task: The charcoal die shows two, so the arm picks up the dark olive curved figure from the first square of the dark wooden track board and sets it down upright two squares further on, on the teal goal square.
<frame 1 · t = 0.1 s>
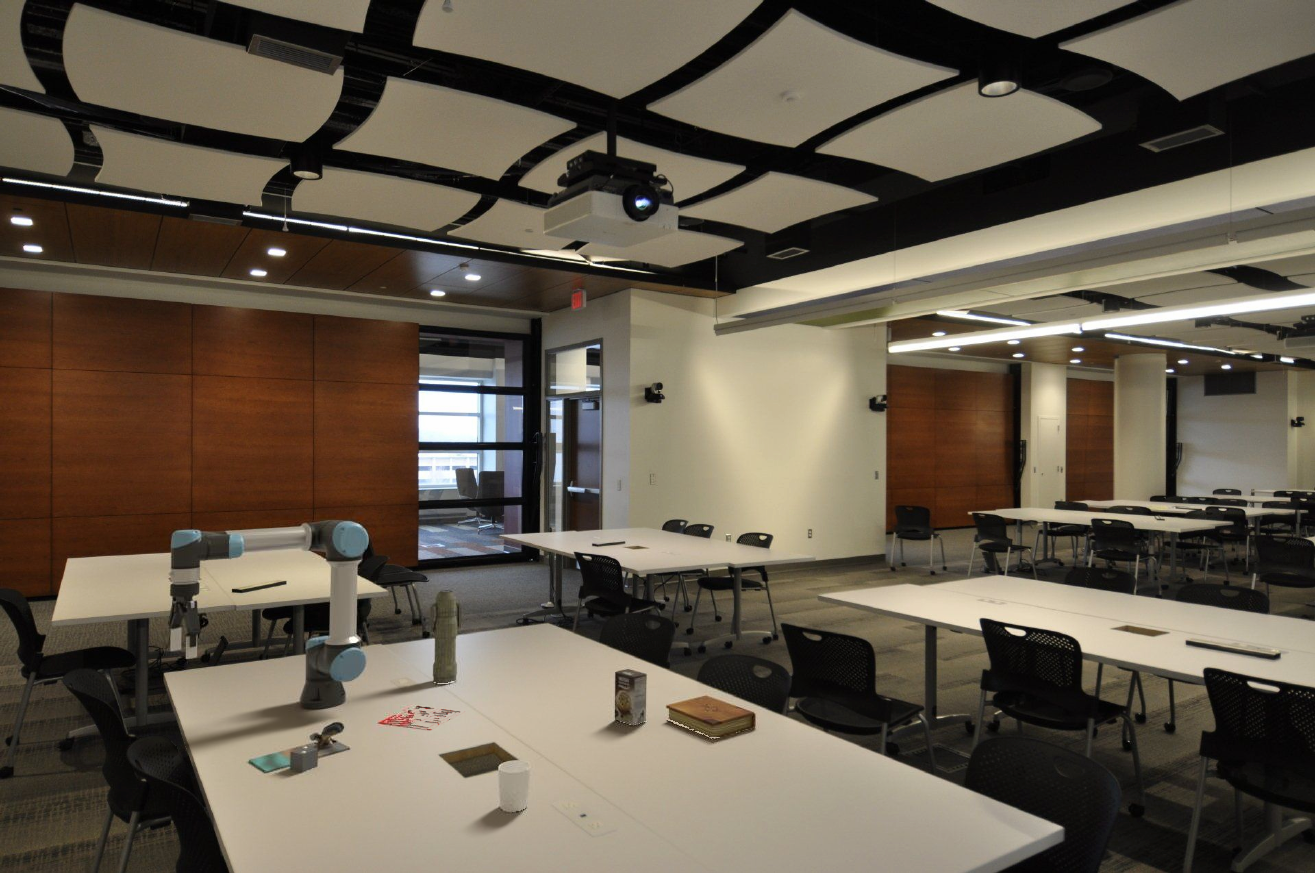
hand: (183, 654, 235), 28 cm above the table, tool pointing down, fingers open, 13 cm apart
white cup: (513, 807, 196), on the table
diary: (710, 726, 259), on the table
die: (303, 768, 220), on the table
dark olive curved figure: (327, 746, 236), resting on track board
coffee box: (630, 722, 261), on the table
thermos: (444, 682, 306), on the table
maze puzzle: (422, 719, 264), on the table
track board: (300, 755, 230), on the table
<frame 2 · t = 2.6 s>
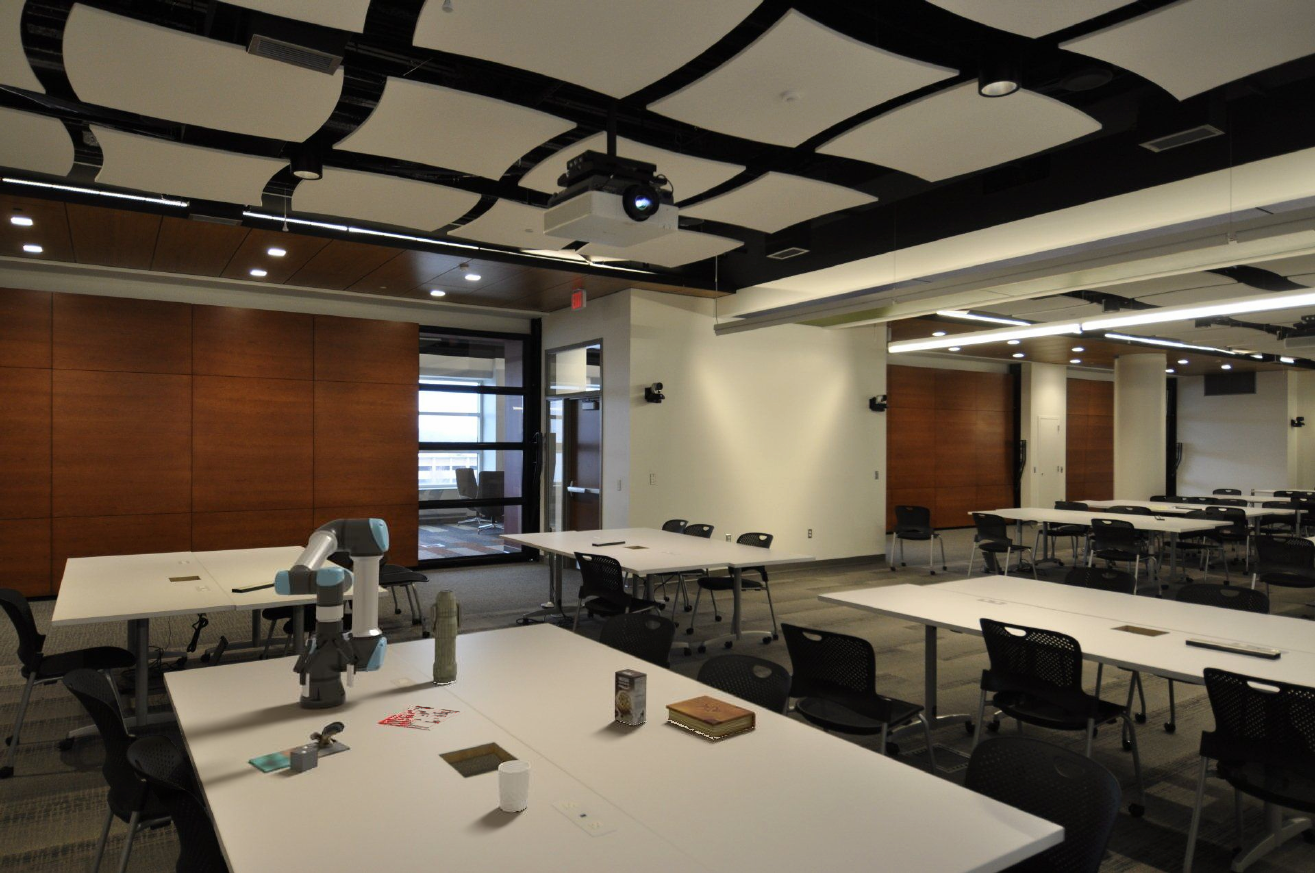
hand: (328, 691, 236), 17 cm above the table, tool pointing down, fingers open, 13 cm apart
nothing on the table moved.
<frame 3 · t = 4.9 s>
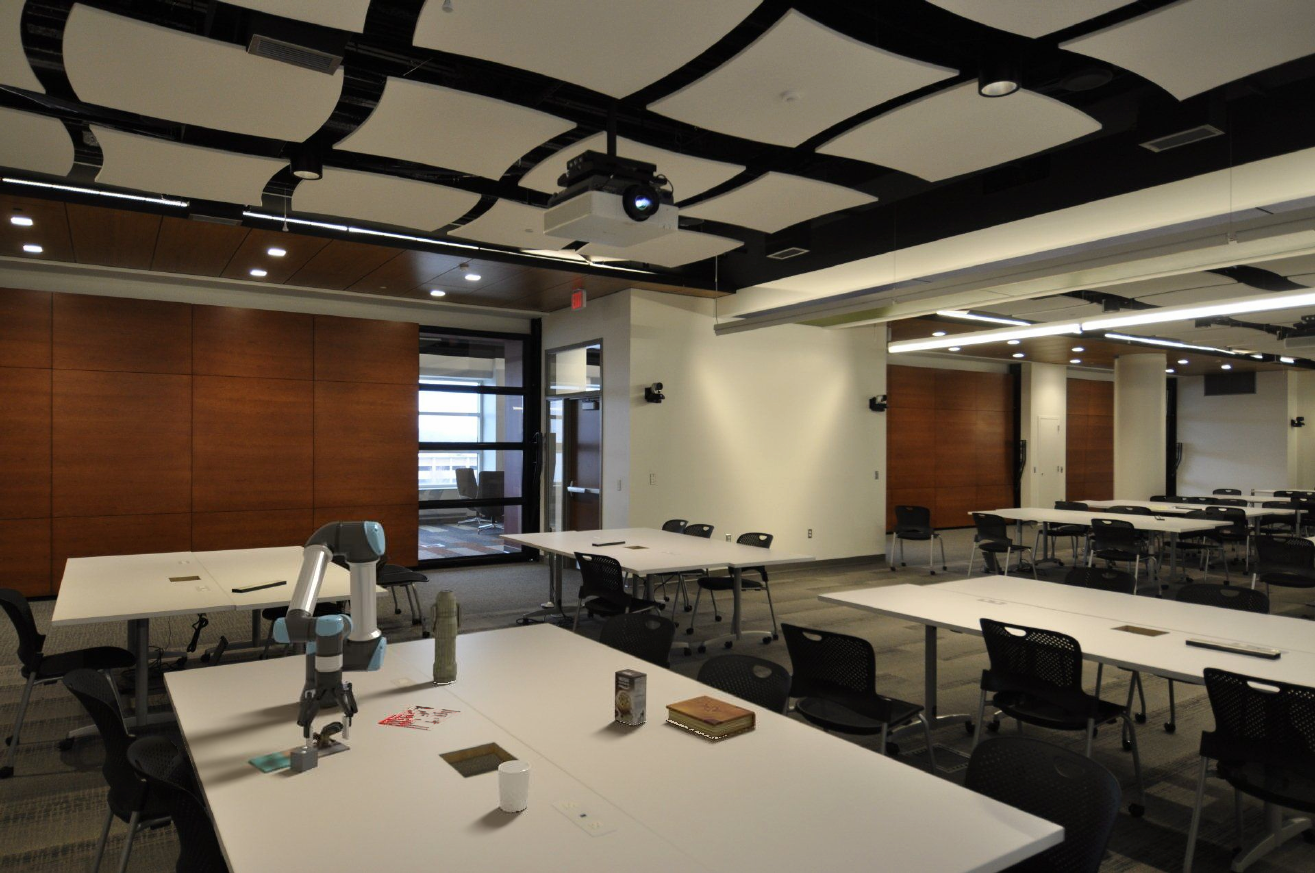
hand: (327, 743, 236), 1 cm above the table, tool pointing down, fingers closed on dark olive curved figure, 10 cm apart
dark olive curved figure: (326, 746, 236), resting on track board, touching gripper
everything else where it was.
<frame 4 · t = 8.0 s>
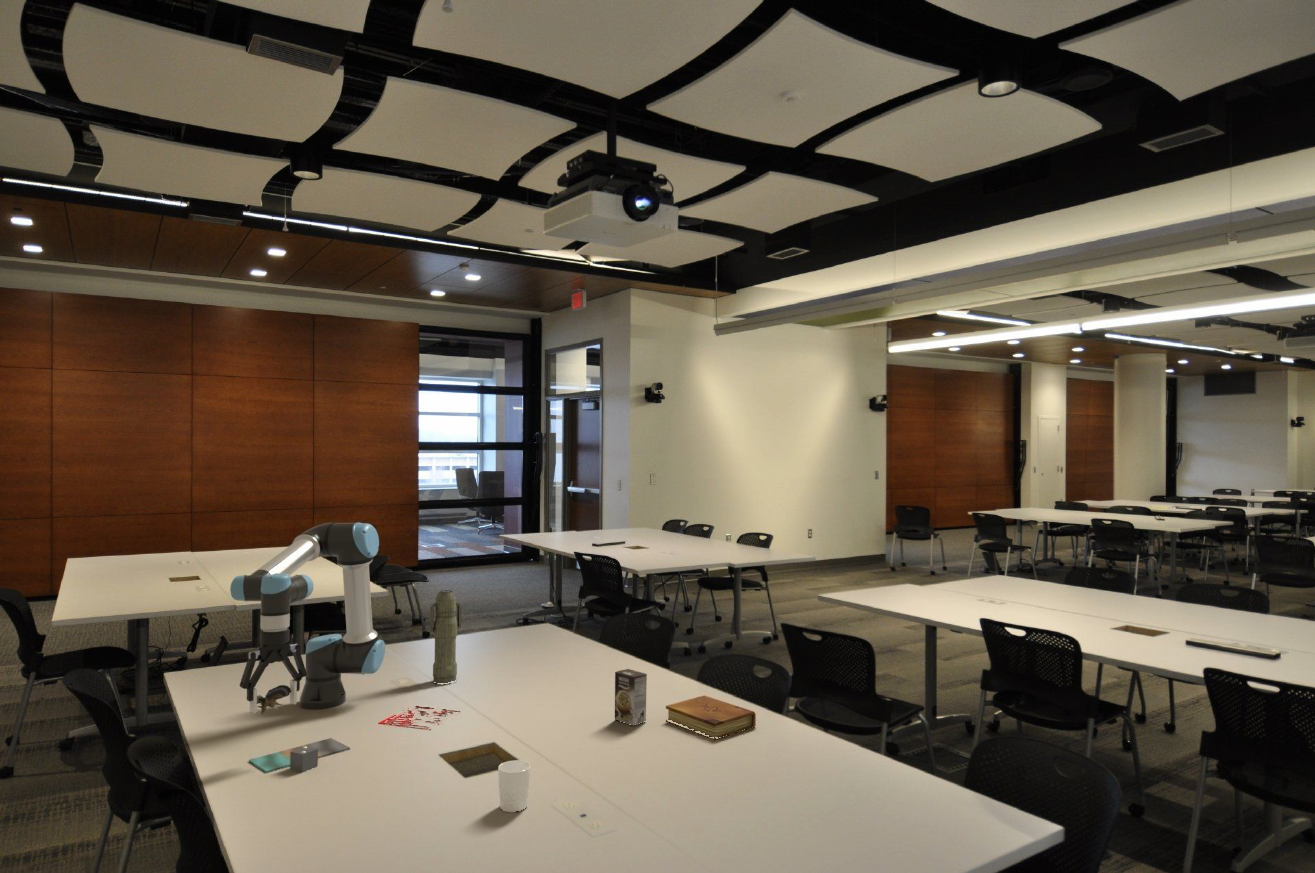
hand: (273, 707, 224), 16 cm above the table, tool pointing down, fingers closed on dark olive curved figure, 10 cm apart
dark olive curved figure: (272, 710, 224), point 15 cm above the table, touching gripper
everything else where it was.
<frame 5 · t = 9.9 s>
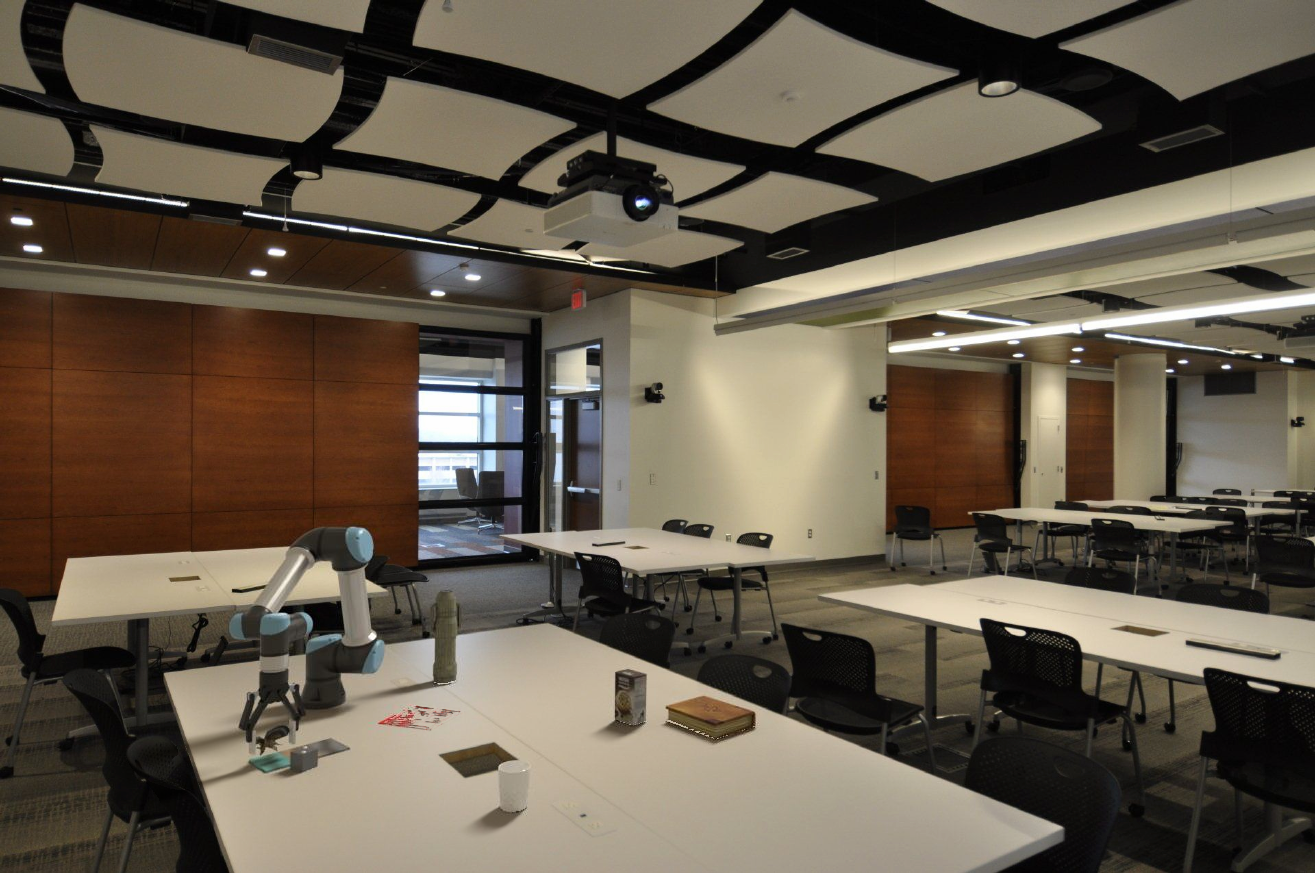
hand: (272, 748, 224), 4 cm above the table, tool pointing down, fingers closed on dark olive curved figure, 10 cm apart
dark olive curved figure: (270, 751, 224), point 3 cm above the table, touching gripper
everything else where it was.
when the fingers open (3 cm above the table, at t = 11.2 s): dark olive curved figure drops 1 cm, resting on track board.
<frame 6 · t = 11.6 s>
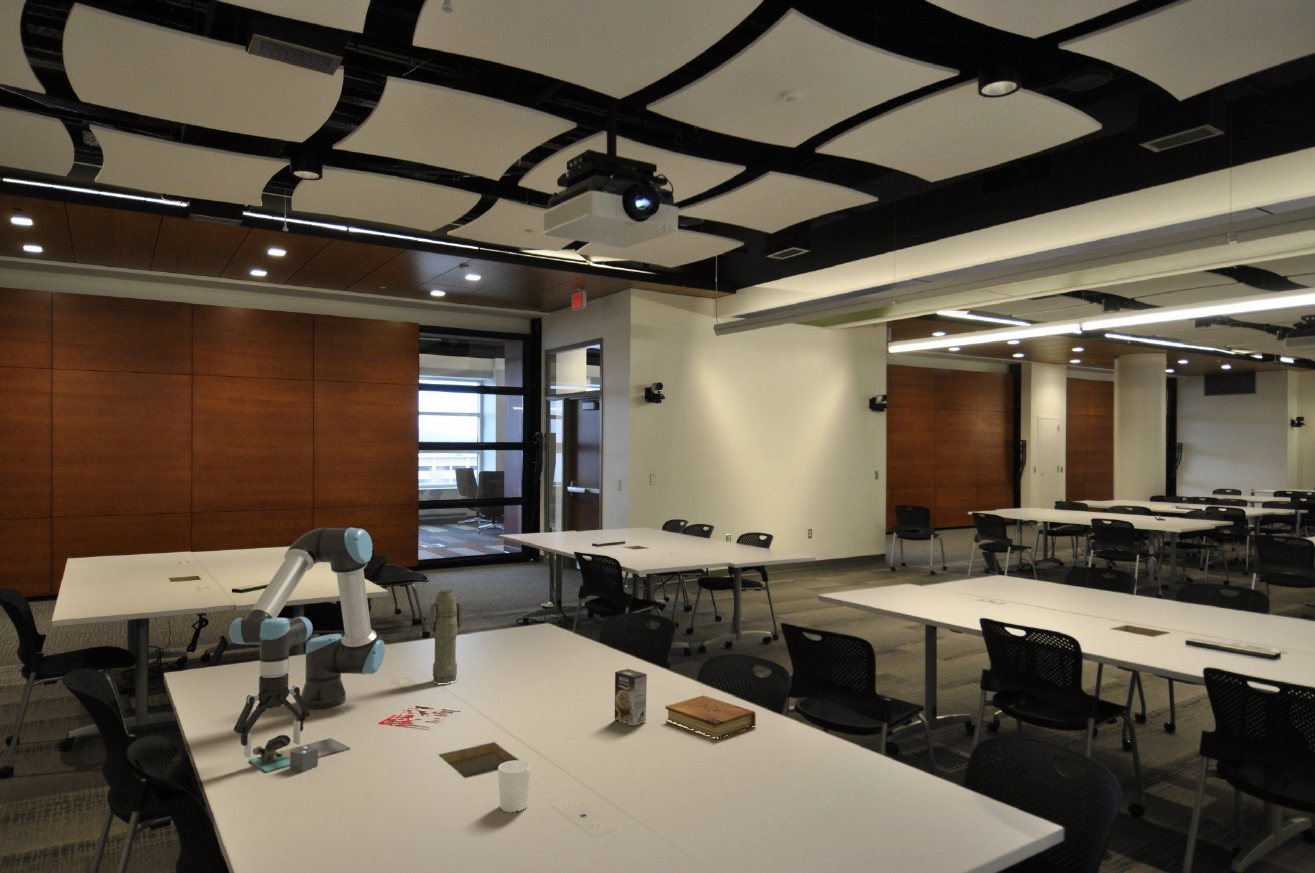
hand: (272, 749, 224), 4 cm above the table, tool pointing down, fingers open, 13 cm apart
dark olive curved figure: (271, 761, 224), resting on track board
everything else where it was.
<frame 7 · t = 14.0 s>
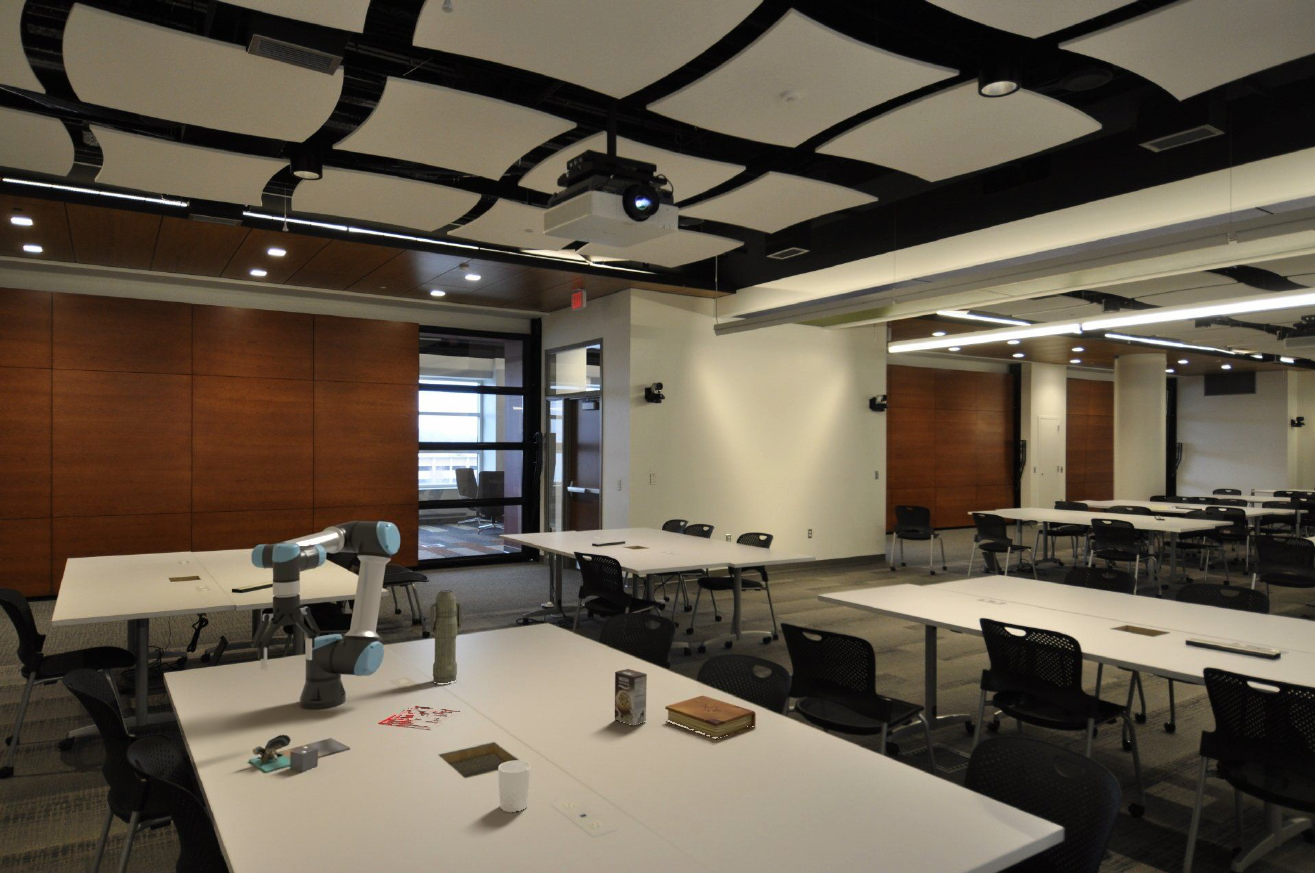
hand: (286, 664, 241), 24 cm above the table, tool pointing down, fingers open, 13 cm apart
nothing on the table moved.
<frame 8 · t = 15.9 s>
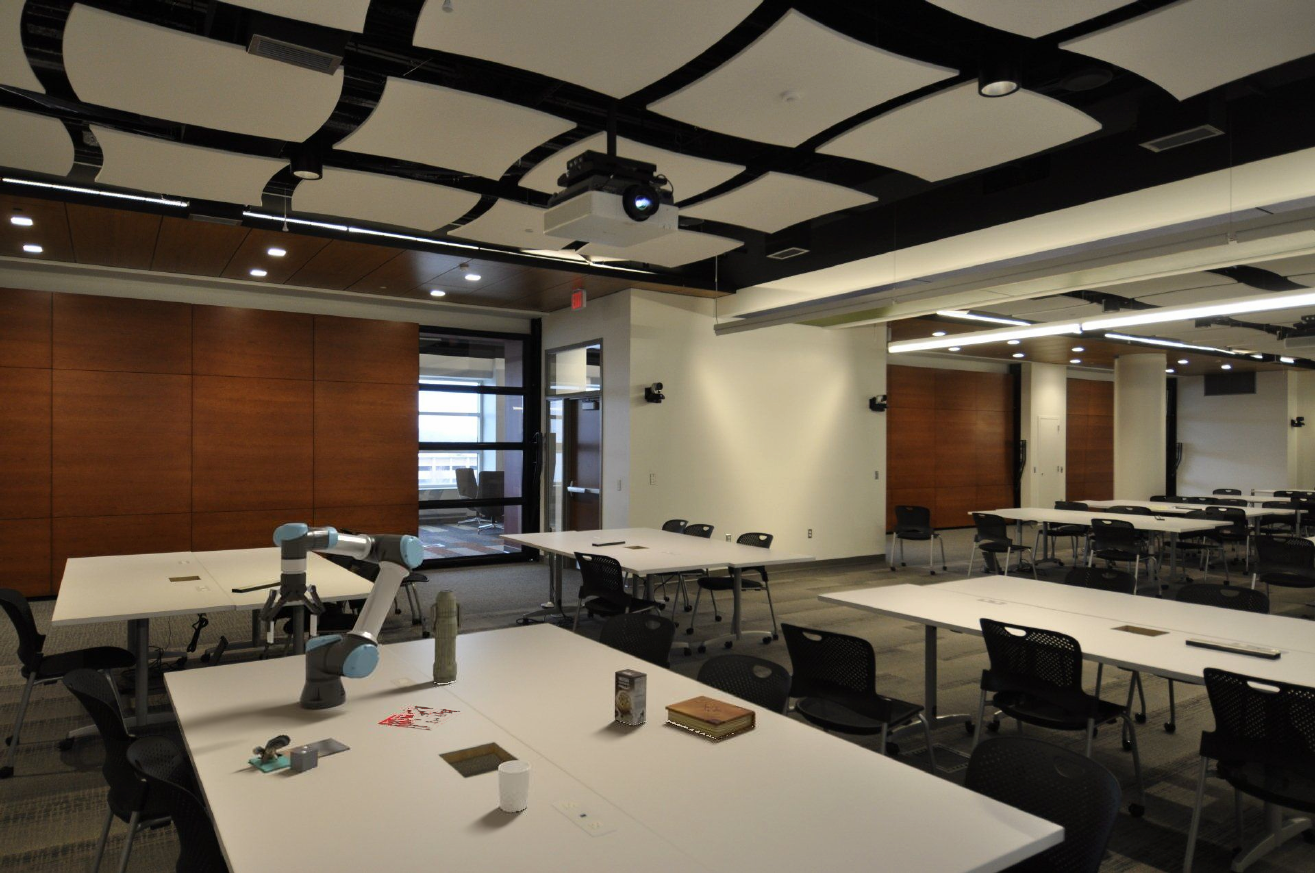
hand: (292, 638, 252), 29 cm above the table, tool pointing down, fingers open, 13 cm apart
nothing on the table moved.
at the end: dark olive curved figure 0.7 cm from the target spot on the track board, point 0.3 cm above the track board's base; dark olive curved figure tilted 1°; the gripper is holding nothing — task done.
